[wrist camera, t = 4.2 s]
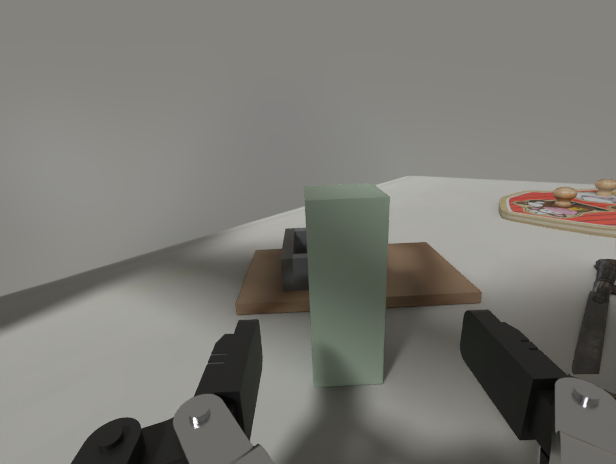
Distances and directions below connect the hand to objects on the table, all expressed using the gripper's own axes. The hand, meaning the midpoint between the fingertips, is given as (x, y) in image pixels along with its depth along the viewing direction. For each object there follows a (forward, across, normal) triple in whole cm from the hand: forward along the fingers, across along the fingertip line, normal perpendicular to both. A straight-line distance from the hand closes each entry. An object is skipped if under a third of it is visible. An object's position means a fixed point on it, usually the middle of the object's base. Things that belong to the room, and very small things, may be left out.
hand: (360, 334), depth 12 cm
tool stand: (+18, -2, +6) cm, 19 cm away
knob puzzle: (+36, -43, +7) cm, 57 cm away
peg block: (+6, 0, +6) cm, 9 cm away
